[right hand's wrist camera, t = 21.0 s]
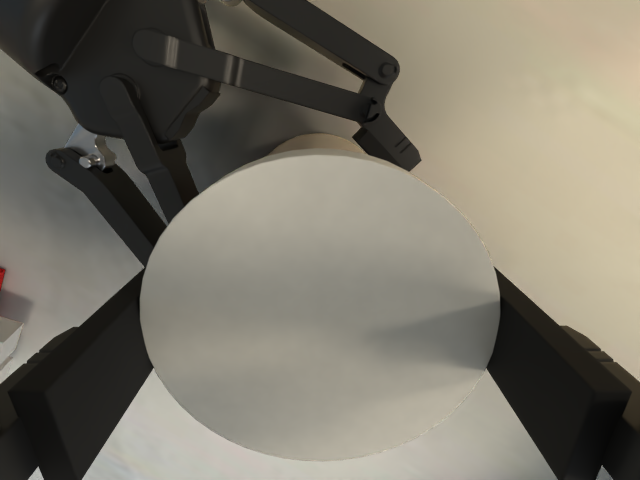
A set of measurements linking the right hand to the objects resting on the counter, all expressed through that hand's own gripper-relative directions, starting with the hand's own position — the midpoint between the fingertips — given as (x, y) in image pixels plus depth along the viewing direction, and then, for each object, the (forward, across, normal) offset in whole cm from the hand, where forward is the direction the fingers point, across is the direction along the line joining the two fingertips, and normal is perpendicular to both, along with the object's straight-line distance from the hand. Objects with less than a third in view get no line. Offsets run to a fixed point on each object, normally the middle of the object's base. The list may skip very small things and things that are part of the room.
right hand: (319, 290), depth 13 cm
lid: (-3, 0, 0) cm, 3 cm away
